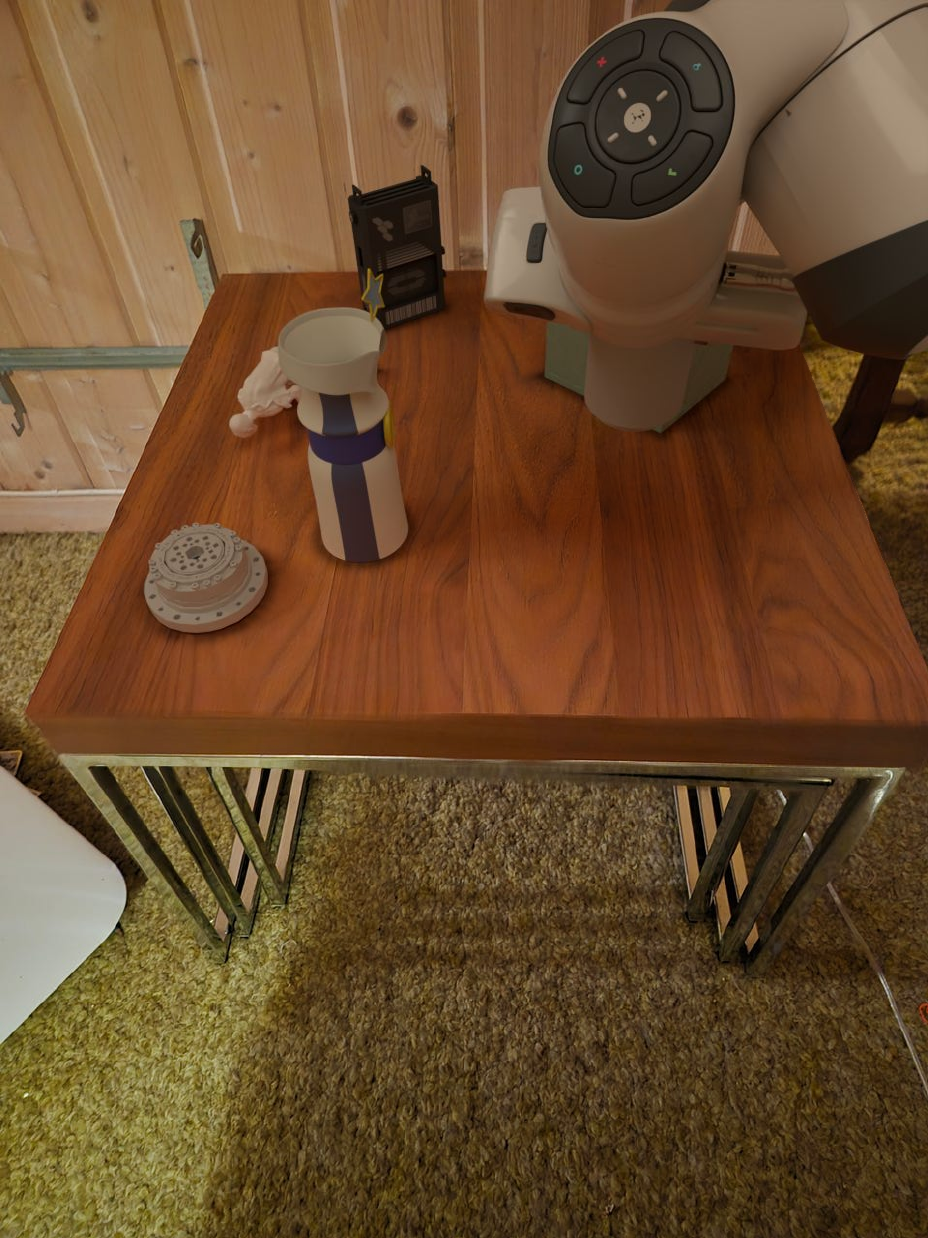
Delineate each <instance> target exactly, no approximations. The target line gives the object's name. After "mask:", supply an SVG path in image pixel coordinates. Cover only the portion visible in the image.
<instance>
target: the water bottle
mask: <svg viewBox="0 0 928 1238" xmlns="http://www.w3.org/2000/svg"><path fill="white" fill-rule="evenodd" d="M382 281H383V274H380V275H379V276H378V277H377V278H374V275H373V273H372V271H371V270H370V269H368V278H367V289H366V291H365V293H364V294H363V296H362V297H361V299H360V300H361V302H362V301H364V302H366V303H369V307H370V313H368V312H366V311H364V310H363V309H360V308H356V307H347V306H346V307H345V306H343V307H326V308H325V307H324V308H317V309H313V310H308V311H306V312H304V313H302V314H299V315H297V316H296V317H294V318H293V319H291V320H289V322H287V323H286V324H285V325H284V326H283V328H282V329H281V330H280V332H279V335H278V339H277V346H278V357H279V364H280V368H281V370H282V372H283V373H284V375H285V376H286V377H287V378H288V379H290V380H291V381H293V382H294V383H296V384H298V385H299V386H300V387H301V391H302V398H301V399H300V401H299V403H298V404H297V408H296V411H297V412H296V413H297V418H298V420H299V421H300V423H301V424H302V425H303V426H304V427H305V428H306V433H307V437H308V441H309V445H308V448H307V463H308V470H309V474H310V475H309V476H310V479H311V484H312V489H313V494H314V498H315V499H314V500H315V504H316V511H317V516H318V522H319V529H320V535H321V542H322V545H323V546H324V548H325V549H326V550H327V552H329V553H330V554H331V555H332V556H334V557H336V558H338V559H340V560H341V561H346V562H349V563H358V564H359V563H371V562H375V561H379V560H381V559H384V558H387V557H389V556H390V555H392V554H393V553H395V552H396V551H397V550H398V549H400V548H401V546H402V545H403V544H404V543H405V541H406V540H407V537H408V534H409V523H408V519H407V514H406V508H405V503H404V499H403V492H402V487H401V479H400V473H399V465H398V458H397V451H396V448H395V418H394V408H393V403H392V401H390V400H389V397H388V394H387V393H386V392H385V390H384V389H383V388H382V387H381V386H380V384H379V382H378V379H377V378H378V365H379V359H380V357H383V355H384V353H385V350H386V347H387V334H386V329H385V330H384V328H383V326H382V324H381V323H380V321H379V320H378V319H377V318H376V317H375V316H376V312H377V309H378V308H384V307H385V305H384V302H383V299H382V296H381V293H380V292H381V286H382ZM296 384H295V385H296Z"/></svg>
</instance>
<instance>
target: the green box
mask: <svg viewBox="0 0 928 1238" xmlns="http://www.w3.org/2000/svg"><path fill="white" fill-rule="evenodd" d="M545 335H546V336H545V357H544V358H545V360H544V378H546V379H547V380H550V381H552V382H554V383H556V384H558V385H560V386H562V387H565V388H566V389H568V390H571V391H573V392H574V393H577V394H578V395H580V396H583V397H584V390H585V379H586V368H587V357H588V347H589V336H590V333H584V332H581V331H579V330H576V329H572V328H571V327H569V326H567V325H564V324H558V323H550V322H546V334H545ZM733 348H734V345H730V344H722V343H715V345H714V346H706V345H699V344H695V345H694V350H693V355H692V360H691V365H690V370H689V375H688V380H687V385H686V390H685V395H684V400H683V404H682V407H681V410H680V412H679V413H678V414H677V415H676V416H675V417H674V418H673V419H672V420H670V421H668V422H666V423H664V424H662V425H660V426H658V427H656V428H654V429H651V431H654V432H657V433H658V434H662V433H664V432H665V431H666V430H667V429H669V427H671V426H672V425H673V424H674V423H675V422H676V421H678V420H679V419H680V418H681V417H682V416H684V415H685V414H686V413H687V412H689V410H691V409H692V408H693V407H694V406H696V405H697V404H698V403H699V402H701V400H703V399H704V398H705V397H706V396H707V395H709V394H710V393H711V392H713V391H714V389H716V388H717V387H718V386H720V385H721V384H722V383H723V382H725V380H726V378H727V373H728V369H729V364H730V360H731V356H732V351H733Z"/></svg>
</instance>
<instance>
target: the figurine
mask: <svg viewBox="0 0 928 1238" xmlns="http://www.w3.org/2000/svg"><path fill="white" fill-rule="evenodd" d="M287 386H290V387H289V388H287ZM237 393H238V394H237V401H238V403H239V404H240V405H241V407H242V409H243V412H241V413H235V414H233V415H232V416H231V417H230V418H229V421H228V422H229V423H228V426H229V429H230V430H231V433H232V434H233V436H235V437H237V438H241V439H247V438H251V437H252V436H253V435H254V434H255V433H257V430H258V427H259V426H258V425H257V424H256V423H255V420H256V419H258V418H268V417H274V416H275V415H277V414H279V413H281V412H282V411H283V410H284V408H285V409H287V410H288V409H290V408H292V407H293V405H292V404H291V403H292V402H293V400H295V401H296V402H297V403H298V404H299V401H300V399H301V398H302V391H301V387H300V386H299V385H298V384H296V383H294V382H293V381H291V380H290V379H288V378H287V377H286V376H285V375H284V373H283V372H282V370H281V368H280V364H279V357H278V345H277V346H273V347H272V348H270V349H267V350H264V351H262V352H261V357H260V362H258V364H257V365H256V367H255V368H254V369H253V370H252V372H251V373H250V374H249V375H248V376H247V377H246V378H245V380H244V382H243V385H242V387H241V388H240V389H238V392H237Z"/></svg>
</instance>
